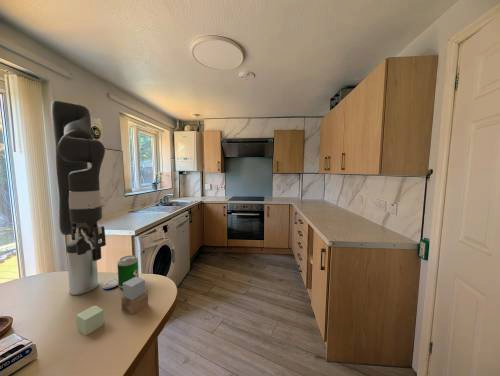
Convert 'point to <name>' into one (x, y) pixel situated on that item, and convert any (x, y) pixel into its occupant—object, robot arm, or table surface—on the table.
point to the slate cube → (133, 288)
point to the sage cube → (90, 320)
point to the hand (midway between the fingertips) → (89, 256)
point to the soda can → (127, 269)
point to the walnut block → (134, 303)
